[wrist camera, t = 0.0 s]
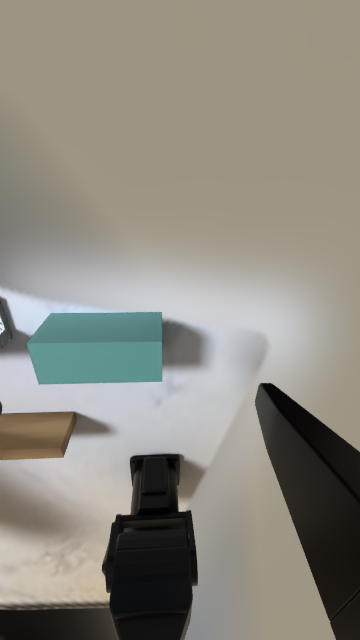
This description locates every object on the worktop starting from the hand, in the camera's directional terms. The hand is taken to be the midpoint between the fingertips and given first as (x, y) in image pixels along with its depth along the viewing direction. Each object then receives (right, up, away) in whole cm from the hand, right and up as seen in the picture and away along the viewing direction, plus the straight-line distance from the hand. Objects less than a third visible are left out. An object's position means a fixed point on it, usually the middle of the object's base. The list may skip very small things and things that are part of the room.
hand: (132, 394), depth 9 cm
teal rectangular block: (-5, +2, +16) cm, 17 cm away
